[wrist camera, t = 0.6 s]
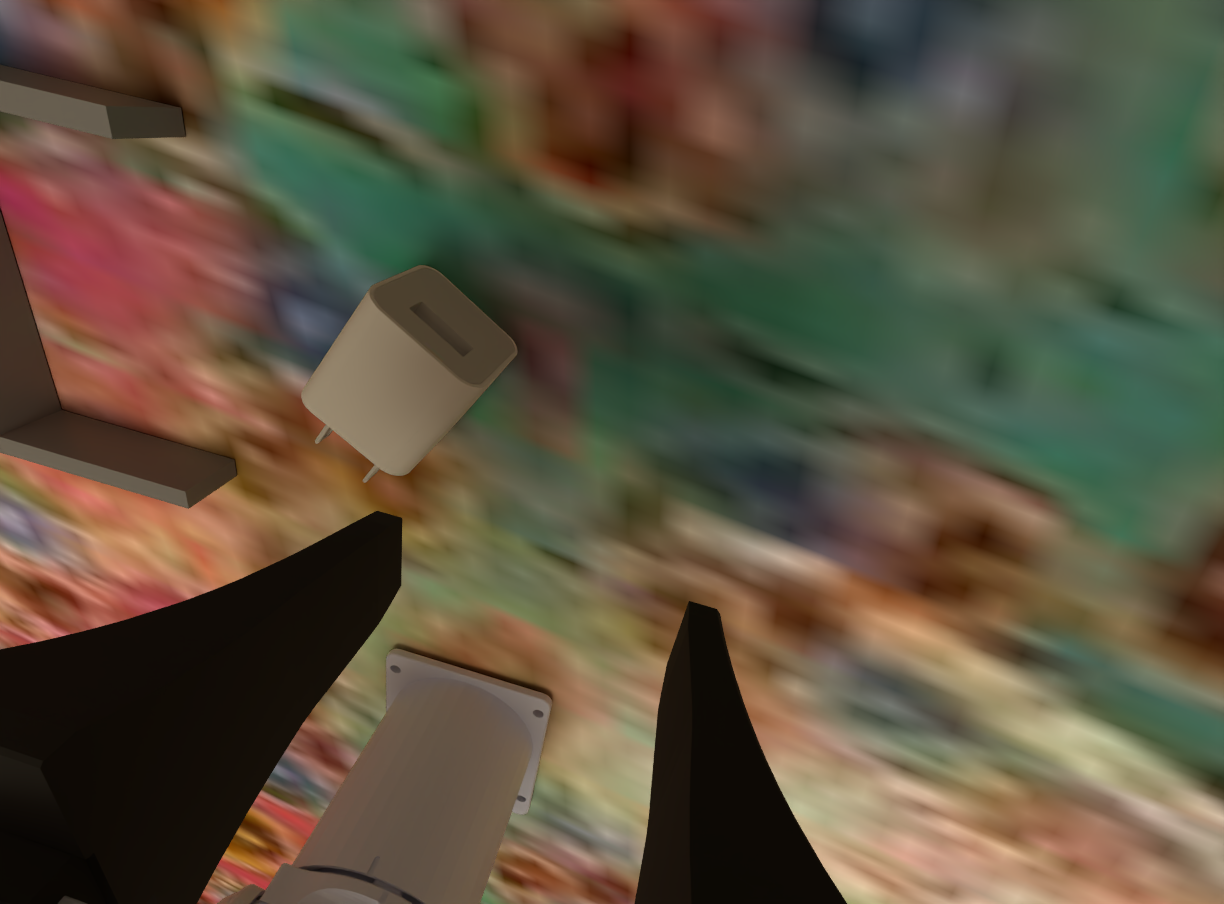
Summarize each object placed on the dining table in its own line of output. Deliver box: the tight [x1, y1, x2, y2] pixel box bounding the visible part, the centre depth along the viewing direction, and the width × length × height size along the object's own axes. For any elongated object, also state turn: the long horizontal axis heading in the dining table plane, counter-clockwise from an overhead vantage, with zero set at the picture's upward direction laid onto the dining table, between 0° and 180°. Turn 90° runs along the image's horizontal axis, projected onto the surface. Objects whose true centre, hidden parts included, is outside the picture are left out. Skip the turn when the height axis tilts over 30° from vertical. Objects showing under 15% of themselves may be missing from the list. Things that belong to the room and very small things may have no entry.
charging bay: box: [0, 65, 237, 509], centre depth 21 cm, size 14×9×2 cm, turn 169°
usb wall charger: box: [301, 265, 518, 482], centre depth 20 cm, size 4×7×4 cm, turn 138°
